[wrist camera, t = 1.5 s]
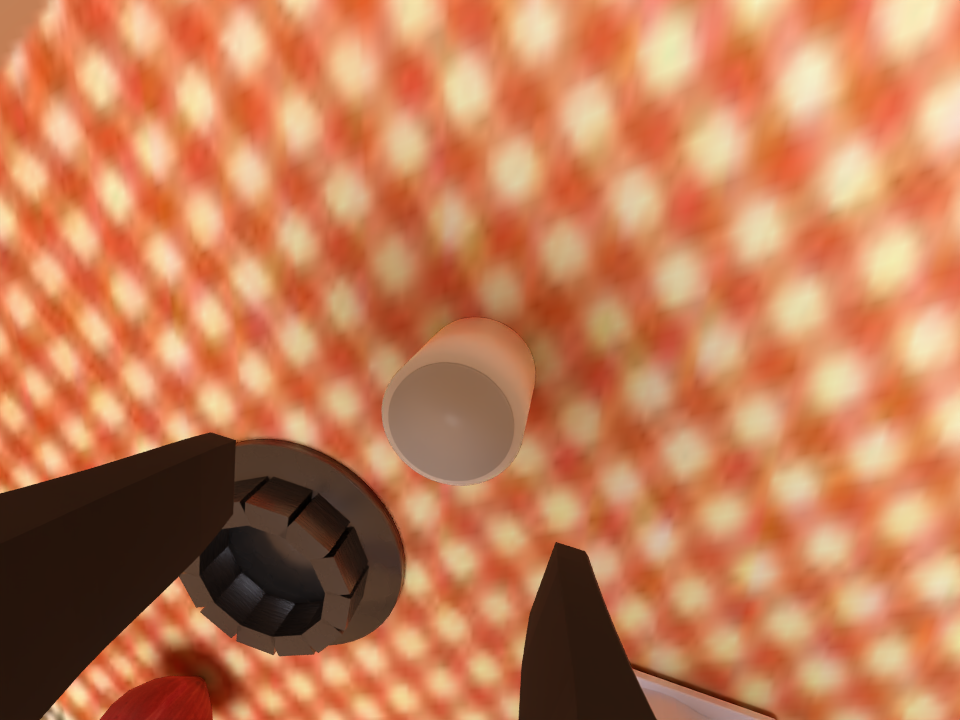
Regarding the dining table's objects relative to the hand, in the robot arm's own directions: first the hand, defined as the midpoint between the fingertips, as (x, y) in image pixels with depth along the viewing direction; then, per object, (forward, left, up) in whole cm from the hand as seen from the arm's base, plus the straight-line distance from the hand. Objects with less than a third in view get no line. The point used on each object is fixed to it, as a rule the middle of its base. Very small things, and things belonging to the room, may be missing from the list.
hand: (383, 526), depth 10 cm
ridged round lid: (+7, +12, -10) cm, 17 cm away
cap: (0, 0, -10) cm, 10 cm away
